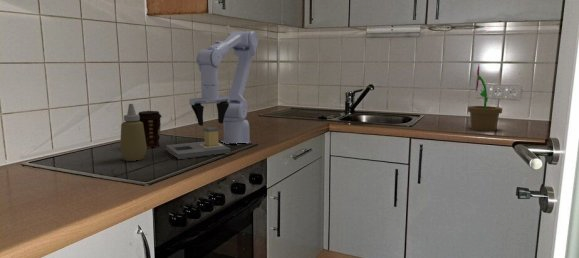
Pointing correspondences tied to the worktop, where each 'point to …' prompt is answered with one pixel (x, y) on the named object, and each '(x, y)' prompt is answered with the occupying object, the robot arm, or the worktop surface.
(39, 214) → the worktop surface
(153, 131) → the coffee cup
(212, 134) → the plug
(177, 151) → the socket panel
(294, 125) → the worktop surface
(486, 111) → the flowerpot
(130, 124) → the squeeze bottle
